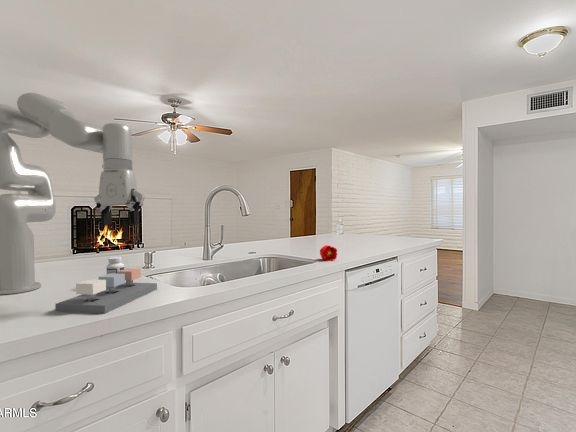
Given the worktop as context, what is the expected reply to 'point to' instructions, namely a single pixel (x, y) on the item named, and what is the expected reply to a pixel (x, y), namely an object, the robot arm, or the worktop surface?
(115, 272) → the pill bottle
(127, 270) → the terracotta key
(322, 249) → the flower
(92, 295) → the ivory key
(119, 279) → the slate key
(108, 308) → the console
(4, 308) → the worktop surface
